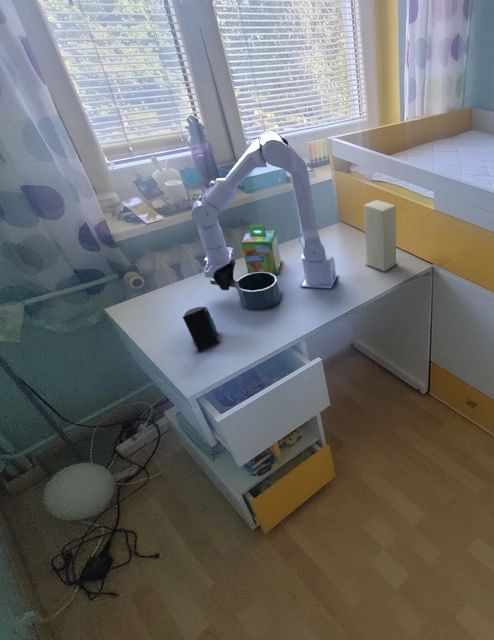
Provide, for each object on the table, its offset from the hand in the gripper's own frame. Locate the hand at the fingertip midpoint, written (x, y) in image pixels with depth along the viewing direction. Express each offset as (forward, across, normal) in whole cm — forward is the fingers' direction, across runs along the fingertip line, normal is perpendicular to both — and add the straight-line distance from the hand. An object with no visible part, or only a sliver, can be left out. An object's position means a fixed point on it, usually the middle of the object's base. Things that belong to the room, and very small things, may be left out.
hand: (227, 286), depth 127 cm
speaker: (+3, +22, +3) cm, 22 cm away
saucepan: (+3, +1, +6) cm, 6 cm away
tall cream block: (+3, -25, +43) cm, 50 cm away
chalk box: (+3, -17, +5) cm, 18 cm away
